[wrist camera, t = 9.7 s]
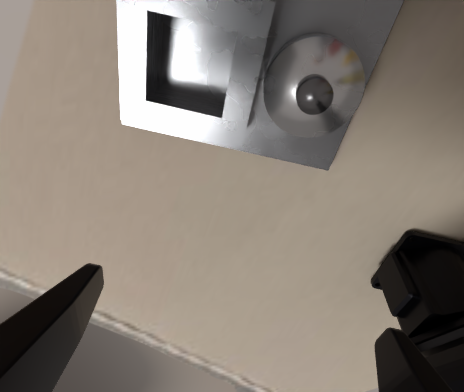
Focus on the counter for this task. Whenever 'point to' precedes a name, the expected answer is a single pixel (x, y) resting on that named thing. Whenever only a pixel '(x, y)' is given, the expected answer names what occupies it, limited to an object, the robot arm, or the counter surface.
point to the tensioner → (250, 70)
